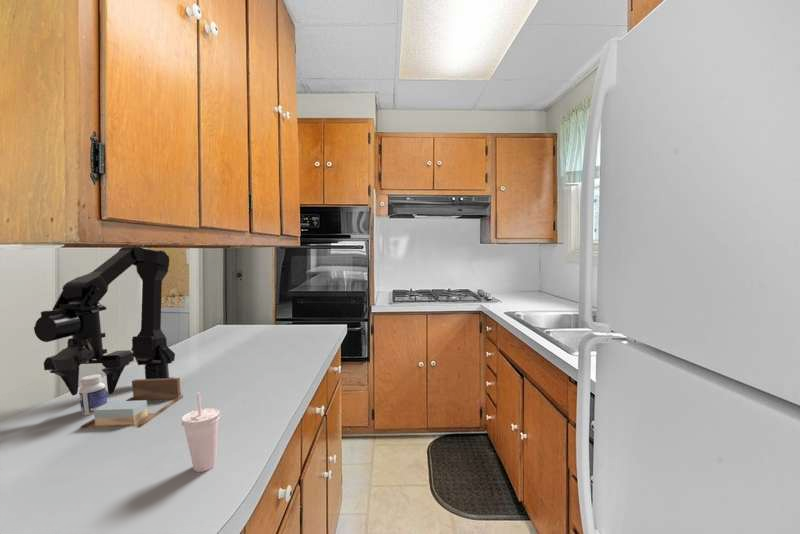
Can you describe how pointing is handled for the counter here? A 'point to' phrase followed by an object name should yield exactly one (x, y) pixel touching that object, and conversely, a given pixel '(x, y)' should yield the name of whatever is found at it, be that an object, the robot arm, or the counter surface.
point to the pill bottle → (92, 394)
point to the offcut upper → (120, 409)
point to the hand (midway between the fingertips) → (93, 394)
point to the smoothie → (202, 436)
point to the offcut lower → (121, 419)
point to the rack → (149, 397)
